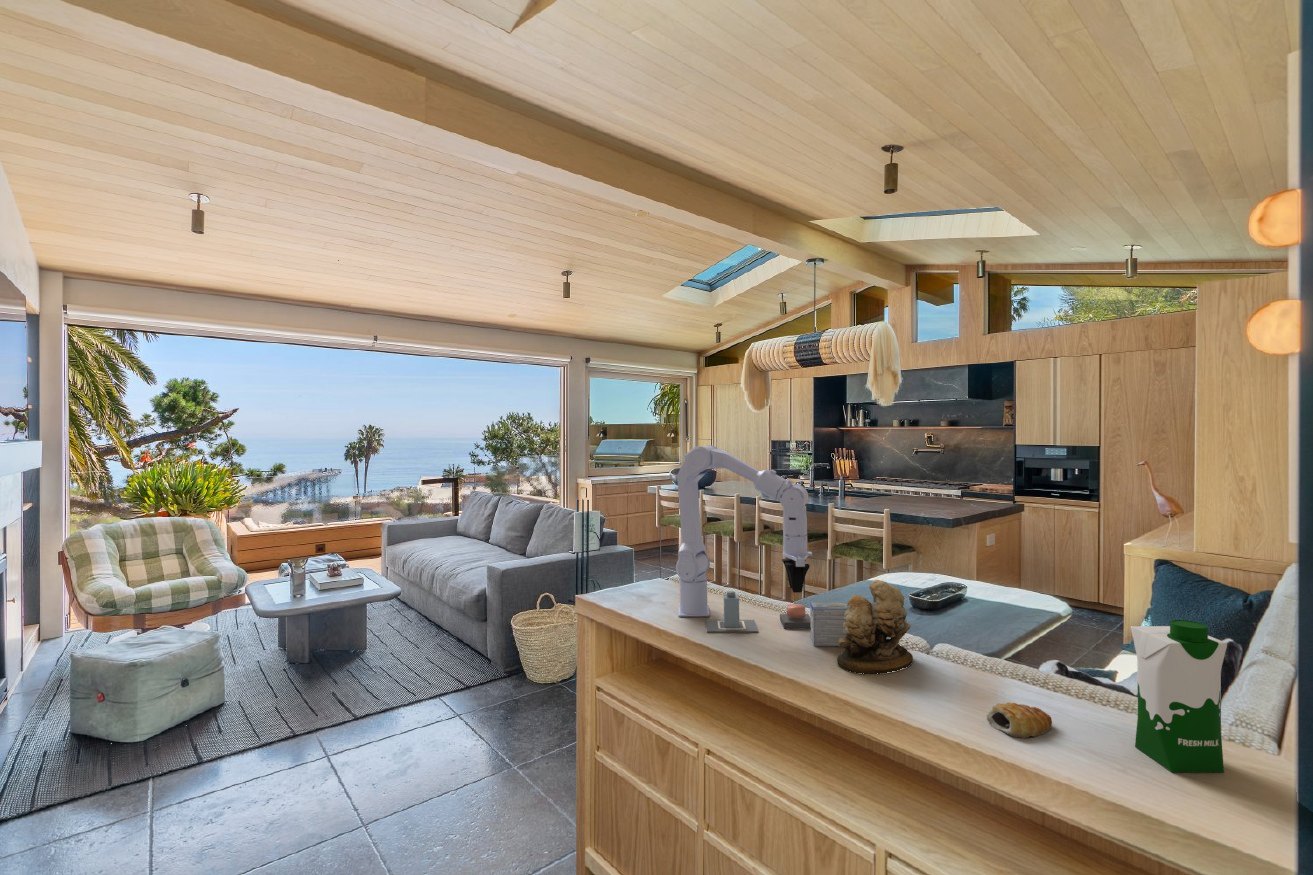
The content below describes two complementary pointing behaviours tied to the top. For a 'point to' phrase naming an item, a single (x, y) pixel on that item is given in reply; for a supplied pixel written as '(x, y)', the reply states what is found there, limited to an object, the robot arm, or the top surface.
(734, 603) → the grey rectangular block
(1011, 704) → the pastry
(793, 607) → the button
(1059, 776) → the top surface
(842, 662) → the owl figurine
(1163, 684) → the milk carton
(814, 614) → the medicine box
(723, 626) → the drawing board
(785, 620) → the button base
